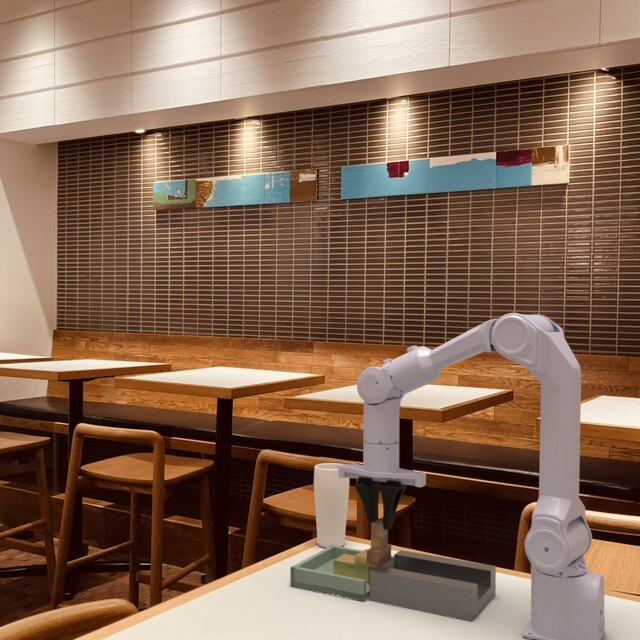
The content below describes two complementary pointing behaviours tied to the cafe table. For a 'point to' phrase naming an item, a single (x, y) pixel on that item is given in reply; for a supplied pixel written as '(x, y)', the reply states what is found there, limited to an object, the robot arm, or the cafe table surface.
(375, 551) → the stepped wooden block
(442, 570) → the grey open tray
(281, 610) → the cafe table surface
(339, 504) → the drinking glass
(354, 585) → the tray
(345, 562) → the tan wooden square block
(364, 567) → the tan square block
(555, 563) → the robot arm
